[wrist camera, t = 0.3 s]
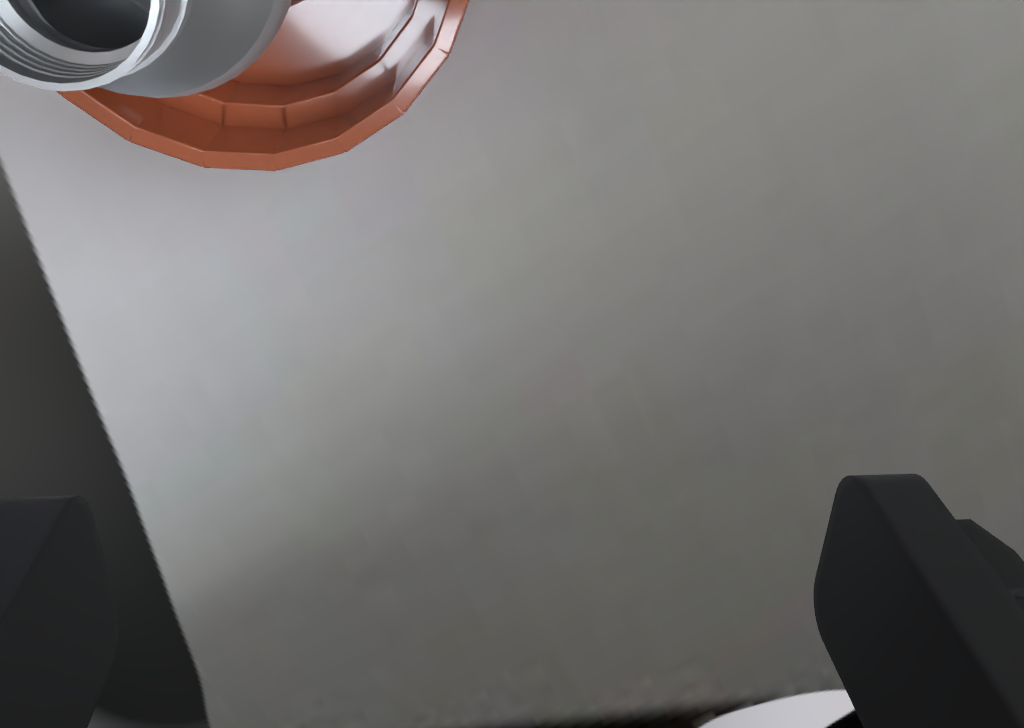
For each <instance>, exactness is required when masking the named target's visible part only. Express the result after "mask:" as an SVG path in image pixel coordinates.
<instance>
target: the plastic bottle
mask: <svg viewBox="0 0 1024 728" xmlns="http://www.w3.org/2000/svg"><path fill="white" fill-rule="evenodd" d="M301 1H303V0H0V73H1V74H3V75H5V76H7V77H9V78H11V79H13V80H15V81H17V82H20V83H23V84H26V85H30V86H33V87H37V88H40V89H47V90H55V91H74V90H85V89H91V88H94V87H100V88H103V89H106V90H110V91H113V92H116V93H121V94H128V95H136V96H145V97H154V98H166V97H180V96H188V95H192V94H196V93H199V92H203V91H206V90H210V89H213V88H215V87H217V86H219V85H221V84H223V83H225V82H227V81H229V80H231V79H233V78H235V77H237V76H238V75H239V74H241V73H242V72H243V71H244V70H245V69H247V68H248V67H249V66H250V65H251V64H253V63H254V62H255V61H256V60H257V59H259V57H260V56H261V55H262V53H263V52H264V51H265V50H266V48H267V47H268V46H269V45H270V43H271V42H272V41H273V39H274V38H275V37H276V35H277V33H278V31H279V29H280V27H281V25H282V22H283V20H284V18H285V16H286V14H287V12H288V9H289V8H290V7H291V6H293V5H295V4H297V3H299V2H301Z"/></svg>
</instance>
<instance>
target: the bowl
mask: <svg viewBox="0 0 1024 728" xmlns="http://www.w3.org/2000/svg"><path fill="white" fill-rule="evenodd" d="M468 3H469V0H303V1H301V2H299V3H297V4H295V5H293V6H291V7H290V8H289V9H288V12H287V14H286V16H285V18H284V20H283V22H282V25H281V27H280V29H279V31H278V33H277V35H276V37H275V38H274V39H273V41H272V42H271V43H270V45H269V46H268V47H267V48H266V50H265V51H264V52H263V53H262V55H261V56H260V57H259V59H257V60H256V61H255V62H254V63H253V64H251V65H250V66H249V67H248V68H247V69H245V70H244V71H243V72H242V73H241V74H239V75H238V76H237V77H235V78H233V79H231V80H229V81H227V82H225V83H223V84H221V85H219V86H217V87H215V88H213V89H210V90H206V91H203V92H199V93H196V94H192V95H188V96H180V97H166V98H154V97H145V96H136V95H128V94H121V93H116V92H113V91H110V90H106V89H103V88H100V87H94V88H91V89H85V90H74V91H57V92H58V93H59V94H61V95H62V96H63V97H64V98H66V99H67V100H68V101H70V102H71V103H73V104H74V105H76V106H77V107H79V108H80V109H82V110H83V111H85V112H86V113H88V114H89V115H91V116H92V117H94V118H95V119H96V120H98V121H99V122H101V123H102V124H104V125H105V126H107V127H108V128H110V129H111V130H113V131H114V132H116V133H117V134H119V135H120V136H121V137H123V138H124V139H126V140H127V141H130V142H131V143H134V144H137V145H140V146H143V147H146V148H149V149H152V150H155V151H157V152H160V153H163V154H166V155H169V156H172V157H175V158H178V159H181V160H184V161H186V162H189V163H192V164H195V165H198V166H201V167H204V168H222V169H244V170H265V171H276V170H282V169H286V168H289V167H293V166H297V165H301V164H304V163H308V162H312V161H316V160H319V159H323V158H327V157H331V156H334V155H338V154H342V153H344V152H347V151H349V150H350V149H352V148H353V147H355V146H356V145H358V144H359V143H361V142H362V141H364V140H365V139H367V138H368V137H370V136H371V135H373V134H374V133H376V132H377V131H379V130H380V129H382V128H383V127H385V126H386V125H388V124H389V123H391V122H392V121H394V120H395V119H397V118H398V117H400V116H401V115H403V114H404V112H406V111H407V110H408V108H409V107H410V106H411V104H412V103H413V102H414V100H415V99H416V98H417V97H418V95H419V94H420V93H421V91H422V90H423V89H424V88H425V86H426V85H427V84H428V82H429V81H430V80H431V78H432V77H433V76H434V75H435V73H436V72H437V71H438V69H439V68H440V67H441V66H442V64H443V63H444V62H445V60H446V59H447V58H448V56H449V54H450V53H451V50H452V47H453V45H454V42H455V39H456V36H457V33H458V31H459V28H460V25H461V22H462V19H463V17H464V14H465V11H466V8H467V6H468Z"/></svg>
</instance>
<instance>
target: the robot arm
mask: <svg viewBox="0 0 1024 728" xmlns="http://www.w3.org/2000/svg"><path fill="white" fill-rule="evenodd" d="M814 609H815V616H816V621H817V625H818V629H819V632H820V635H821V638H822V640H823V642H824V644H825V647H826V649H827V651H828V653H829V655H830V657H831V659H832V661H833V663H834V666H835V668H836V670H837V672H838V674H839V676H840V678H841V680H842V682H843V685H844V687H845V689H846V691H847V693H848V695H849V697H850V699H851V701H852V704H853V706H854V708H855V710H856V712H857V714H858V716H859V718H860V720H861V723H862V725H863V727H864V728H1024V561H1023V560H1022V559H1021V558H1020V557H1019V555H1018V554H1017V553H1016V552H1015V551H1014V550H1013V549H1011V548H1010V547H1009V546H1007V545H1006V544H1004V543H1003V542H1002V541H1000V540H999V539H997V538H996V537H995V536H993V535H992V534H990V533H989V532H988V531H986V530H985V529H983V528H982V527H981V526H979V525H978V524H976V523H975V522H974V521H972V520H971V519H964V520H955V518H954V517H953V516H952V514H951V513H950V512H949V510H948V509H947V508H946V506H945V505H944V504H943V502H942V501H941V500H940V498H939V497H938V496H937V494H936V493H935V492H934V490H933V489H932V488H931V486H930V485H929V484H928V483H927V481H926V480H925V479H924V478H922V477H921V476H919V475H917V474H890V475H855V476H846V477H845V478H843V479H842V480H841V482H840V483H839V485H838V488H837V491H836V494H835V498H834V502H833V506H832V511H831V515H830V519H829V523H828V527H827V532H826V536H825V540H824V544H823V548H822V552H821V557H820V561H819V565H818V569H817V573H816V578H815V583H814ZM118 623H119V622H118V609H117V603H116V599H115V595H114V591H113V588H112V584H111V580H110V577H109V573H108V569H107V565H106V562H105V559H104V554H103V551H102V547H101V543H100V540H99V536H98V532H97V529H96V525H95V521H94V517H93V514H92V511H91V508H90V506H89V504H88V502H87V501H86V499H84V498H83V497H82V496H48V497H15V498H14V497H12V498H11V497H10V498H3V499H1V500H0V728H87V727H88V724H89V722H90V720H91V717H92V715H93V712H94V709H95V707H96V704H97V702H98V699H99V697H100V694H101V692H102V689H103V687H104V684H105V682H106V679H107V677H108V674H109V672H110V669H111V666H112V663H113V660H114V657H115V653H116V647H117V641H118V628H119V627H118V626H119V624H118Z"/></svg>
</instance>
